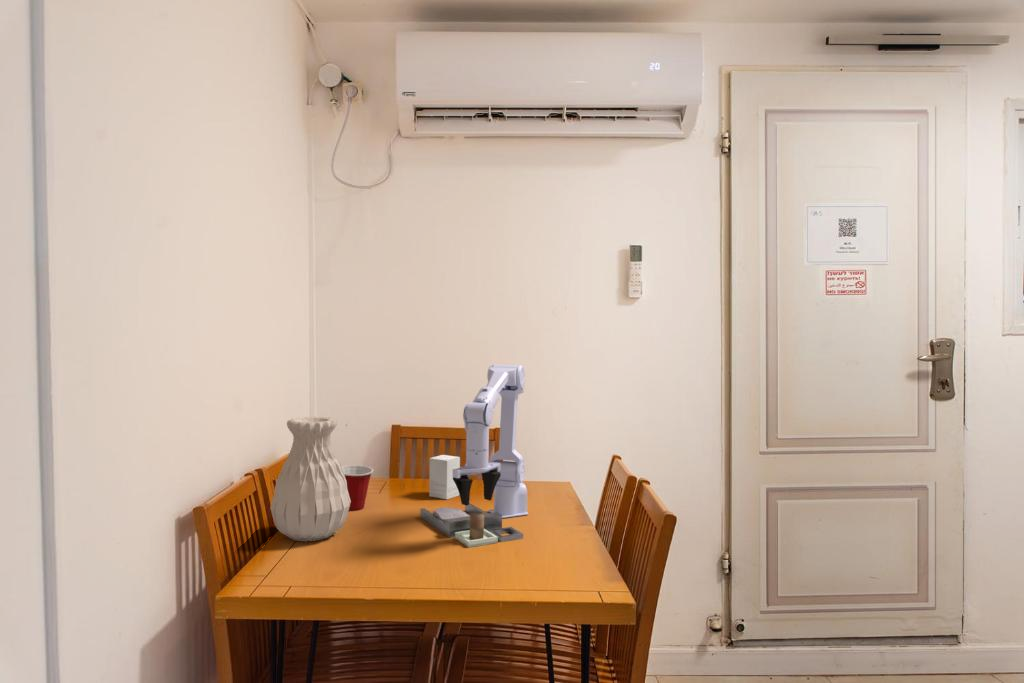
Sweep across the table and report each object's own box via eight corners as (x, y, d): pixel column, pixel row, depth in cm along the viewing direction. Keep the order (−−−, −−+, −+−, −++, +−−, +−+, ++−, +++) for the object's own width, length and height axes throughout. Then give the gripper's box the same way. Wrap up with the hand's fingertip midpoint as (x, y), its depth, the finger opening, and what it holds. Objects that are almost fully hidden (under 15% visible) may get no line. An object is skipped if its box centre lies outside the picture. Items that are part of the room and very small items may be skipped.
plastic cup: (351, 515, 189) (352, 474, 189) (328, 508, 196) (328, 468, 195) (380, 507, 198) (381, 468, 197) (357, 501, 204) (357, 463, 204)
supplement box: (460, 495, 214) (461, 456, 214) (446, 500, 208) (446, 460, 208) (442, 492, 218) (443, 454, 218) (428, 496, 212) (428, 457, 212)
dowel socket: (511, 531, 177) (511, 526, 177) (523, 538, 171) (523, 533, 171) (489, 534, 173) (489, 530, 173) (500, 541, 168) (501, 537, 168)
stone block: (459, 524, 189) (428, 521, 184) (463, 507, 189) (431, 504, 184) (478, 537, 179) (445, 535, 174) (482, 519, 179) (449, 517, 174)
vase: (365, 535, 171) (366, 420, 170) (293, 553, 157) (294, 428, 156) (326, 519, 185) (327, 412, 184) (256, 534, 171) (257, 419, 170)
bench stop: (468, 510, 196) (468, 497, 196) (501, 529, 178) (502, 515, 178) (420, 516, 189) (420, 503, 189) (449, 537, 170) (449, 522, 170)
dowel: (482, 535, 171) (483, 512, 171) (484, 540, 167) (485, 516, 167) (468, 536, 170) (469, 513, 170) (470, 540, 166) (471, 516, 166)
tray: (483, 533, 174) (483, 528, 174) (497, 542, 167) (497, 536, 167) (454, 538, 170) (455, 532, 170) (468, 547, 163) (468, 541, 163)
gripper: (488, 443, 176) (487, 494, 176) (445, 450, 166) (444, 503, 166) (506, 447, 171) (505, 499, 171) (462, 454, 161) (462, 509, 161)
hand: (476, 502), depth 168 cm, fingers open, 7 cm apart
